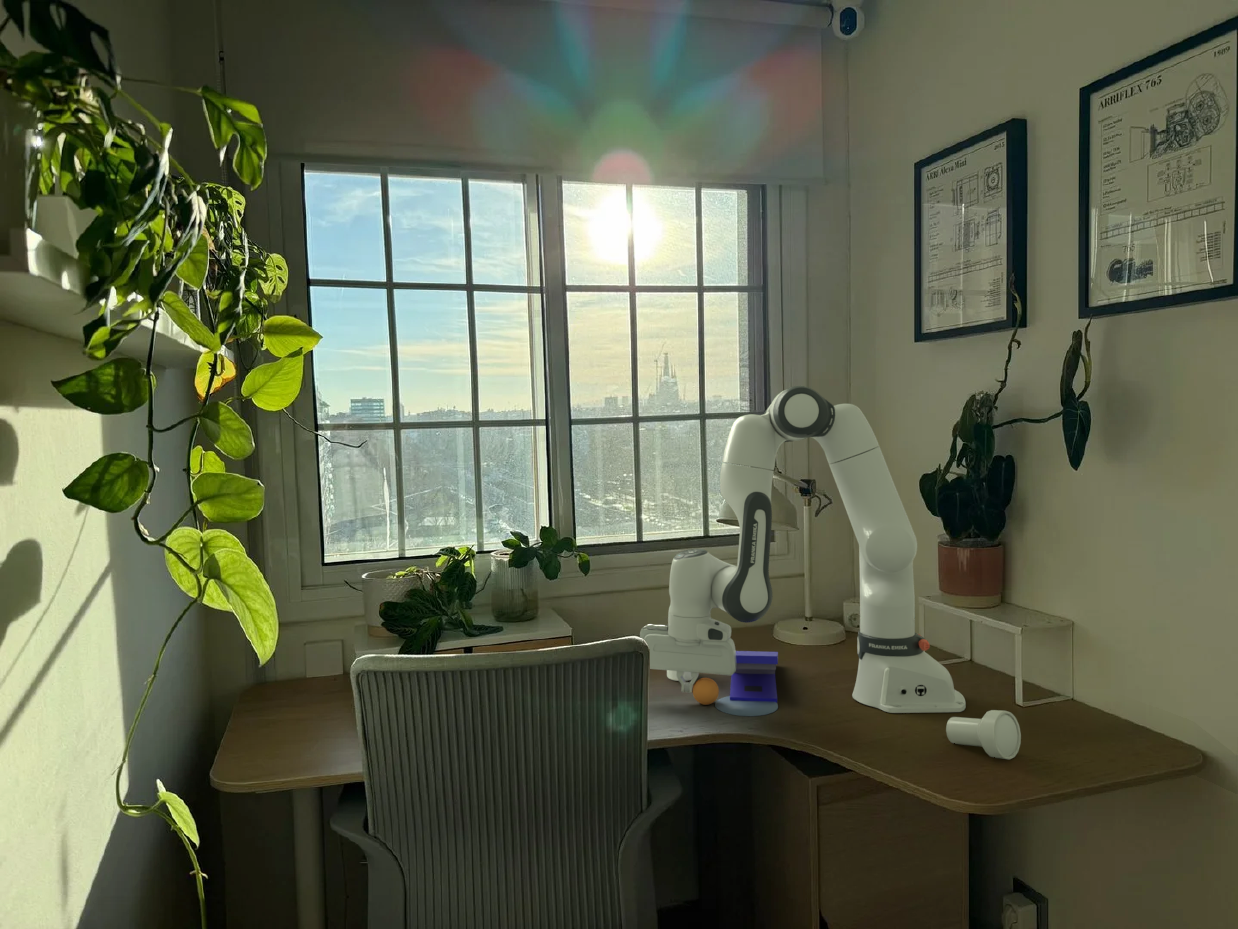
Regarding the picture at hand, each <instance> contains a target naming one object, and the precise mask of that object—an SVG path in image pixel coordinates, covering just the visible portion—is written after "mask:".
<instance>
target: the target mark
mask: <svg viewBox="0 0 1238 929" xmlns="http://www.w3.org/2000/svg"><path fill="white" fill-rule="evenodd" d="M714 708H716V709H717V710H718V711H720V712H722V713H725V714H727V715H732V716H737V717H760V716H766V715H770V714H772V713H775V712H776V711H777V710H778V709H779V705H778V702H777V703H776V702H769V701H737V700H730V695H727V696H724V697H721V698H719V699H716V701H714Z"/></svg>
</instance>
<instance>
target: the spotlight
mask: <svg viewBox="0 0 1238 929" xmlns="http://www.w3.org/2000/svg"><path fill="white" fill-rule="evenodd" d="M945 732H946V737H947V739H948V741H950V743H951V744H954V743H955V744H956V745H960V746H963V745H964V746H972V747H973V746H974V747H982V748H983V750H984V752H985V753H986V754H987V755H988V756H989V757H990V758H994V757H995V758H994V759H1002V760H1011V759H1013V758H1015V757H1016V756H1017V754H1018V753H1019V750H1020V747H1021V743H1022V741H1021V739H1022V734H1021V728H1020V724H1019V722H1018V719H1017V717H1016V716H1015V715H1014V714H1013V713H1012V712H1010V711H1007V710H999V709H998V710H997V709H991V710H988V711H986V713H985V714H984V715H983V716H982V718H974V717H960V716H951V717H950V718H949V719H948V720H947V723H946V727H945ZM955 744H954V745H955Z"/></svg>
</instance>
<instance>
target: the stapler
mask: <svg viewBox="0 0 1238 929" xmlns="http://www.w3.org/2000/svg"><path fill="white" fill-rule="evenodd" d="M778 664H779V652H778V651H757V650H756V651H754V650H753V651H751V650H736V671H735V673H734V674H733V675H730V676H731V677H730V678H731V679H730V688H729V696H730V700H737V701H769V702H776V703H777V704H778V693H777V683H776V682H777V680H776V671H777V665H778Z"/></svg>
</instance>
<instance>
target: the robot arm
mask: <svg viewBox="0 0 1238 929" xmlns="http://www.w3.org/2000/svg"><path fill="white" fill-rule="evenodd" d="M873 430H874V429H873V428H872V426H871V425H870V423H869V420H867V418H866V415H865V414H864V413H863V412H862V410H861V408H859V407H858V405H855V404H853V403H839V404H832V403H831V402H830V401H829V400H828V399H826V398H825V397H824V396H823V395H821V394H820V393H819V392H818V391H816V390H815V389H812V388H811V387H808V386H805V385H795V386H790V387H788V388H786V389H785V390H784V389H783V391H781V392H779V393H778V394H777V395H776V396H775V397H774V398H773V399H772V401H771V403H770V405H769V406H768V407H767V409H766V410H764V411H763V413H762V414H755V413H753V414H751V413H750V414H744V415H741V416H739V417H738V418H736V419H735V420H734V421H733V423H732V425H731V428H730V430H729V432H728V437H727V439H726V443H725V446H724V451H723V455H722V459H721V460H722V463H721V466H720V475H719V480H720V481H719V485H720V486H719V487H720V494H721V496H722V498H723V500H724V501H725V502H726V503H727V505H729V507H730V508H731V509H732V512H734V515H735V516H736V519H737V521H738V525H739V538H738V539H739V540H738V553H737V564H736V565H735V564H732V563H728V562H726V561H723V560H721V559H720V558H717V557H716V556H715V555H712V554H711V553H710V552H709V551H708V550H707V549H702V548H694V549H687V550H683V551H680V552H679V553H677V554H675V556H674V557H673V559H672V561H671V566H670V572H669V583H668V584H669V585H668V586H669V587H668V594H669V598H670V604H669V607H668V611H667V612H668V614H667V615H668V616H667V617H668V618H667V622H668V623H667V625H666V624H653V623H649V624H648V623H647V624H646V625H645V626H643V627H642V628H641V629H640V632H639V639H640V638H643V639H644V640H645V641H646V642H647V644H648V646H649V649H650V669H651V670H661V671H667V670H671V671H677V678H678V680H679V681H678V682H679V683H680V685H681V686H680V687H681V689H680V690H681V693H687V694H688V693H689V694H693V686H694V684H695V683H696V681H697V680H698V678H699V674H710V675H721V676H731V675H733V674H734V673H735V671H736V651H737V650H736V646H735V645H736V644H735V641H734V640H733V639H732V638H731V636H732V627H731V626H730V624H727V623H725V622H723V621H720V620H717V619H714V618H712V617H711V614H712V609H720V610H721V611H724V612H725V613H727V614H728V615H729V616H731V617H732V618H733V619H734V620H736V621H737V622H741V623H744V624H745V623H753V622H756V621H758V620H760V619H762V618H763V616H765V615H766V614H767V612H768V611H769V610H770V607H771V605H772V601H773V587H772V584H771V580H770V572H769V571H770V569H769V567H770V566H769V565H770V552H771V539H772V538H771V537H772V521H773V512H772V487H773V477H774V471H775V465H776V458H777V454H778V451H779V448H780V446H781V445H782V444H783V443H788V442H797V441H799V442H800V441H803V440H806V439H808V438H811V439H814V440H815V441H816V442H817V443H818V444H819V445H820V447H821V449H822V450H823V452H824V454H825V458H826V460H827V463H828V466H829V469H830V471H831V473H832V477H833V479H834V482H835V484H836V487H837V490H838V491H839V496H840V498H841V500H842V502H843V506H844V508H845V510H846V514H847V517H848V519H849V522H850V525H851V527H852V530H853V533H854V535H855V539H856V541H857V544H858V551H859V552H858V558H859V560H858V561H859V605H860V606H859V630H858V632H857V639H856V640H857V645H856V647H857V648H856V649H857V656H858V667H857V673H856V679H855V680H856V681H855V684H854V687H853V691H852V695H851V696H852V699H854V700H855V701H857V702H859V703H860V704H863V705H866V706H869V707H873V708H876V709H879V710H882V711H883V712H885V713H886V712H887V713H890V714H902V713H903V714H905V713H906V714H910V713H913V714H914V713H917V714H918V713H919V714H920V713H961V712H963V711H965V709H966V708H967V707H966V706H967V704H966V699H965V697H964V695H963V694H962V693H961V692H960V691H958V690H956V689H955V688H954V687H955V686H954V681H953V678H952V675H951V674H950V672H949V670H948V669H947V668H946V667H945V666H944V665H943V664H941V663H940V662H939V661H938V660H936V659H935V658H933V657H932V656H931V655H930V654H929V653H927V652H925V651H928V650H929V649H930V647H931V645H930V643H929V641H928V640H927V639H925V637H924V636H922V635H921V634H920V633H917V632H915V631H916V630H915V629H916V628H915V627H916V625H915V624H916V623H915V622H916V619H915V618H916V617H915V615H916V611H915V610H916V606H915V604H916V603H915V602H916V601H915V600H916V597H915V596H916V595H915V593H916V592H915V580H914V579H915V578H914V559H915V558H916V555H917V553H918V552H917V551H918V540H917V536H916V534H915V532H914V529H913V526H912V524H911V522H910V518H909V516H908V514H907V512H906V509H905V507H904V504H903V502H902V499H901V497H900V494H899V492H898V490H897V488H896V485H895V482H894V480H893V477H892V475H891V472H890V469H889V467H888V464H887V462H886V459H885V457H884V454H883V452H882V449H881V445H880V444H879V442H878V439H877V436H876V434H875V433H874V431H873ZM684 672H691V677H693V679H692V680H690V681H689V682H688V681H685V680H684V678H683V675H684Z"/></svg>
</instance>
